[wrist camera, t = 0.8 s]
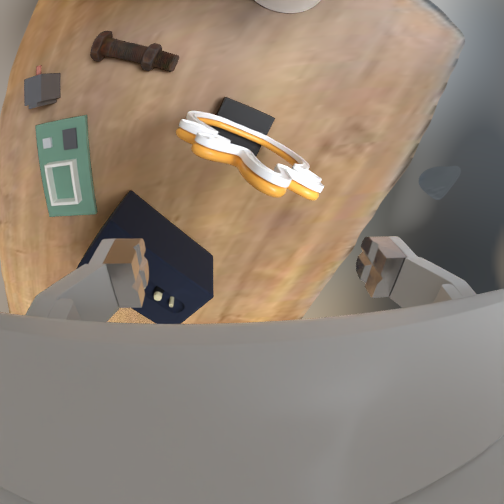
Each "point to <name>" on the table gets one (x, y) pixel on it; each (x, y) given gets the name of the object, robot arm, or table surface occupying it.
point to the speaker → (161, 261)
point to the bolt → (132, 52)
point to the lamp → (247, 148)
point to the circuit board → (66, 167)
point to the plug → (41, 89)
